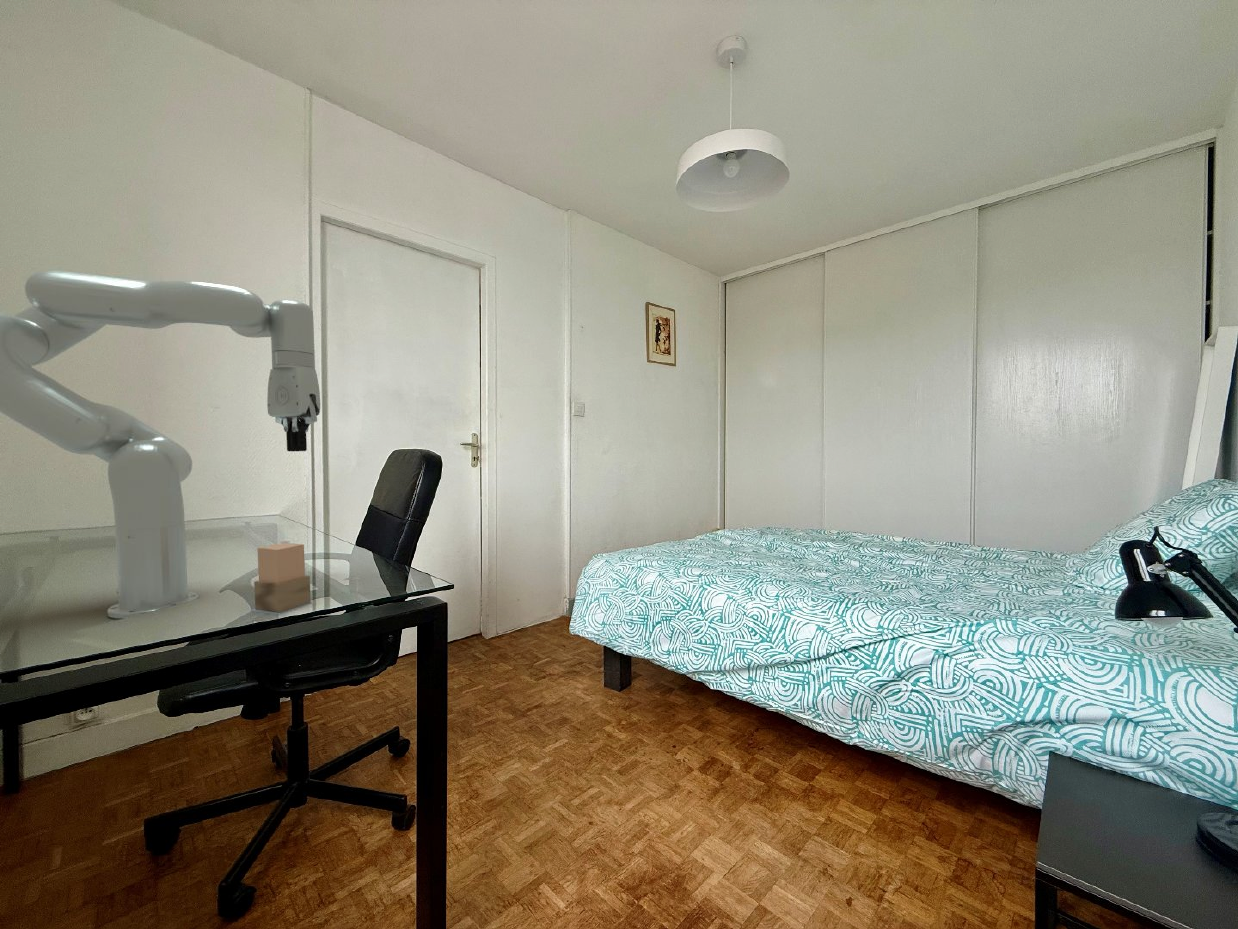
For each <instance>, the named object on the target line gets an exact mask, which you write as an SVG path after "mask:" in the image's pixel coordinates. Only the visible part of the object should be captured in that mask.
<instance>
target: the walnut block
mask: <svg viewBox="0 0 1238 929" xmlns="http://www.w3.org/2000/svg"><path fill="white" fill-rule="evenodd" d="M253 582H254V583H253V584H254V585H253V586H254V602H255V603H254V606H255V607H254V609H256V610H262V611H269V612H275V613H281V612H284V611H287V610H290V609H293V608H296V607H299V606H302V605H305V604H308V603H311V602H312V601H311V600H312V599H311V575H305V577H302V578H298V579H294V580H291V581H287V582H283V583H279V584H276V583H268V582H261V581H259V580H256V581H253Z"/></svg>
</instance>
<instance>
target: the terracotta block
mask: <svg viewBox="0 0 1238 929" xmlns="http://www.w3.org/2000/svg"><path fill="white" fill-rule="evenodd" d="M305 562H306V561H305V544H303V543H293V542H292V543H291V542H282V543H281V542H280V543H277V544H270V545H266V546H260V547H257V567H258V570H257V571H258V581H261V582H268V583H276V584H279V583H283V582H287V581H291V580H294V579H298V578H302V577H305V576H306V565H305V564H306V563H305Z"/></svg>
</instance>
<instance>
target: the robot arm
mask: <svg viewBox="0 0 1238 929" xmlns="http://www.w3.org/2000/svg"><path fill="white" fill-rule="evenodd" d="M24 292H25V296H26V298H27V299H28V302H29V303H30V304H31V306H29V307H27V308H25V309H24V310H21V311H20V312H18V313H16V314H15V315H13V314H9V313H6V312H4V311H3V310H0V413H1V414H3V415H5V416H7V417H8V418H10V419H11V420H13V421H15V422H16V423H18V424H20V425H21V426H23V427H26V428H27V429H29V430H31V431H32V432H34V433H36V434H38V435H39V436H41V437H43V438H44V439H46V440H47V441H50V442H51V443H52V444H54V445H56V446H58V447H59V448H60V449H63V450H64V451H68V452H69V453H72V454H77V455H90V456H91V455H92V456H93V455H94V456H95V457H97V458H99V459H101V460H103V461H104V462H107V463H108V466H107V479H108V483H109V487H110V488H109V489H110V492H111V498H112V505H113V512H114V513H113V515H114V529H115V530H114V531H115V546H116V547H115V549H116V564H117V565H116V566H117V567H116V568H117V583H118V588H117V589H116V591H115V592H116V594H117V595H118V603H116V604H113V605H112V606H110V607H109V608H108V609H107V616H108V617H110V618H112V619H123V620H124V619H127V618H130V617H134V616H138V615H142V614H146V613H149V612H153V611H157V610H158V611H159V610H161V609H165V608H168V607H172V606H176V605H180V604H183V603H188V602H191V601H195V600H199V599H200V598H199V593H196V592H191V591H189V586H188V584H189V583H188V567H187V566H188V565H187V563H188V562H187V560H188V559H187V544H186V540H187V539H186V522H185V507H184V499H183V492H182V485H181V483H182V482H184V481H185V480H186V479H187V478H188V477H189V476H190V474H191V471H192V469H193V460H192V456H191V455H190V453H189V451H188V450H186V449H185V448H184V447H183V446H182V445H180V444H179V443H177V442H176V441H174V440H172V439H171V438H170V437H167V436H166V435H164V434H163V433H161V432H159V431H158V430H157V429H154V428H153V427H151V426H149V425H148V424H146V423H145V422H144V421H142V420H140V419H138V418H136V417H134V416H133V415H132V414H130V413H128V412H125V411H124V410H122V409H120V408H118V407H115V406H111V405H108V404H103V403H102V404H101V403H98V402H94V401H91V400H89V399H87V398H85V397H84V396H82V395H80V394H78V393H76V392H74V391H73V390H71V389H69V388H68V387H66V386H64V385H62V384H61V383H60V382H58V381H57V380H55V378H52V377H50V376H48V375H47V374H45V373H43V372H41V371H40V370H37V369H36V368H34V366H37V365H41V364H44V363H47V362H48V361H50V360H52V359H54V358H56V357H58V356H59V355H60V354H62V353H64V352H66V351H68V350H69V349H71V348H72V347H74V346H75V345H77V344H79V343H81V342H82V341H83V340H86V339H87V338H89V337H90V336H92V335H93V334H95V333H97V332H98V331H100V330H101V329H102V328H104V327H105V326H106V325H110V326H123V327H131V328H142V329H152V330H153V329H154V330H157V329H158V330H159V329H163V328H166V327H168V326H171V325H175V324H187V323H188V324H203V325H204V324H205V325H216V326H224V327H229V328H230V329H231V330H232V331H233V332H235V333H236V334H237V335H240V336H241V337H246V338H252V339H253V338H270V342H271V344H270V345H271V367H272V368H271V369H270V370H269V374H268V375H269V376H268V383H267V397H266V398H267V400H266V401H267V406H266V407H267V414H268V415H269V416H270V417H271V418H272V417H273V418H274V420H275V424H279V425H282V426H283V431H284V432H285V434H286V435H285V436H286V451H287V452H307V451H308V448H307V447H308V446H307V444H308V443H307V433H308V432H309V427H310V426H311V424H315V423H317V422H318V417H317V416H319V415H320V414H321V413H320V412H321V392H320V384H319V379H318V374H317V371H316V370H317V369H316V362H315V361H316V357H315V356H316V355H315V353H316V352H315V328H314V327H315V326H314V311H313V309H312V308H311V306H310V305H308V304H307V303H304V302H301V301H298V300H297V301H296V300H288V299H287V300H286V299H278V300H275V301H273V302H271V304H267V303H265V302H264V301H263V300H262V299H261V298H260V297H259V295H257V294H256V293H254V292H253V291H251V290H248V289H245V288H242V287H238V286H232V285H225V284H217V283H210V282H204V281H203V282H201V281H192V280H191V281H189V280H171V281H170V280H158V281H157V280H155V281H154V280H153V281H151V280H140V279H131V278H126V277H124V278H123V277H115V276H109V275H108V276H107V275H100V274H94V273H86V272H85V273H83V272H79V271H69V270H60V269H56V270H55V269H46V270H44V269H43V270H40V271H37V272H35V273H33V274H31V275H30V276H29V277H28V278H27V280H26V282H25V284H24Z"/></svg>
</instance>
